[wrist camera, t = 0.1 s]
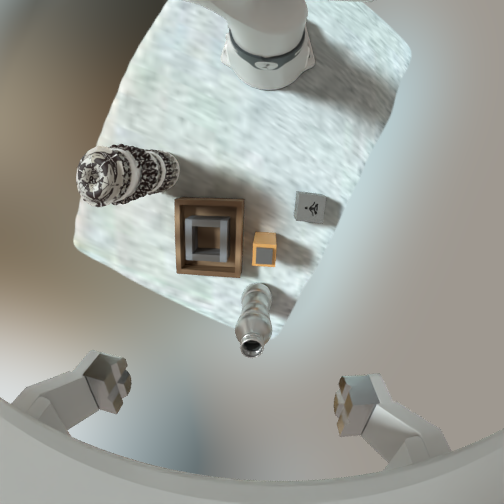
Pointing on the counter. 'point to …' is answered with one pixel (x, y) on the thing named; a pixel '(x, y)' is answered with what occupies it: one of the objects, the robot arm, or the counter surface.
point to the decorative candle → (124, 174)
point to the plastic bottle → (254, 320)
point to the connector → (264, 249)
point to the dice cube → (309, 207)
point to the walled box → (209, 236)
